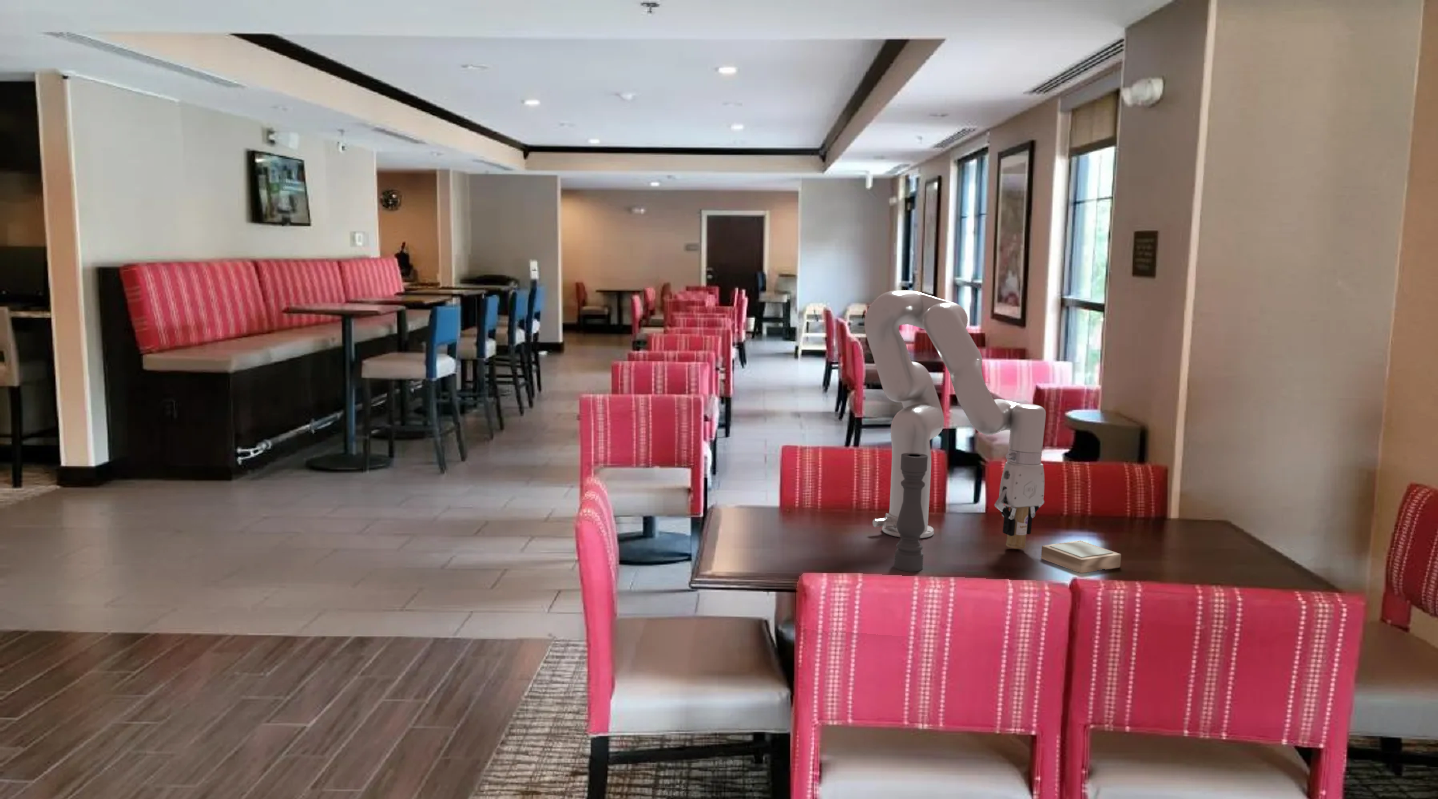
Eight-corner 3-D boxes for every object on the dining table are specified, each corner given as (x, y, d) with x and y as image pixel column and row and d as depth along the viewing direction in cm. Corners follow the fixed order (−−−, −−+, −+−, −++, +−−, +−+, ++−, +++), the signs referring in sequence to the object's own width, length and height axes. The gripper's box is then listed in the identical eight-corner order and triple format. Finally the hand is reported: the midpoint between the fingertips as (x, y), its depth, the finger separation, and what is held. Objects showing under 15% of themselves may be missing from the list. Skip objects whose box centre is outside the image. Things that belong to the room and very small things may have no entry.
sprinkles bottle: (1024, 550, 241) (1030, 494, 239) (1004, 547, 243) (1010, 491, 241) (1026, 545, 245) (1032, 490, 243) (1006, 542, 247) (1012, 487, 245)
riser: (1080, 573, 227) (1081, 559, 226) (1040, 558, 237) (1041, 544, 237) (1120, 567, 232) (1121, 553, 232) (1079, 553, 243) (1080, 539, 242)
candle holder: (891, 563, 231) (896, 452, 227) (918, 563, 231) (924, 452, 228) (898, 571, 225) (904, 458, 221) (926, 571, 225) (932, 458, 222)
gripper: (1007, 462, 234) (1000, 541, 236) (1063, 459, 241) (1055, 535, 244) (985, 455, 240) (977, 532, 243) (1039, 452, 248) (1032, 526, 251)
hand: (1016, 532), depth 243 cm, fingers closed on sprinkles bottle, 4 cm apart
